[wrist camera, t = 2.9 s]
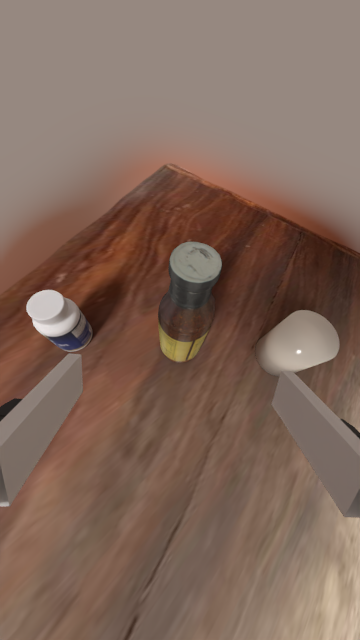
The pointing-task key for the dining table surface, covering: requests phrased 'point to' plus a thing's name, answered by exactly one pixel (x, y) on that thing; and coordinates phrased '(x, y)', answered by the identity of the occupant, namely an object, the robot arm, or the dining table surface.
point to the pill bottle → (59, 320)
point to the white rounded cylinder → (297, 343)
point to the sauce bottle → (188, 300)
